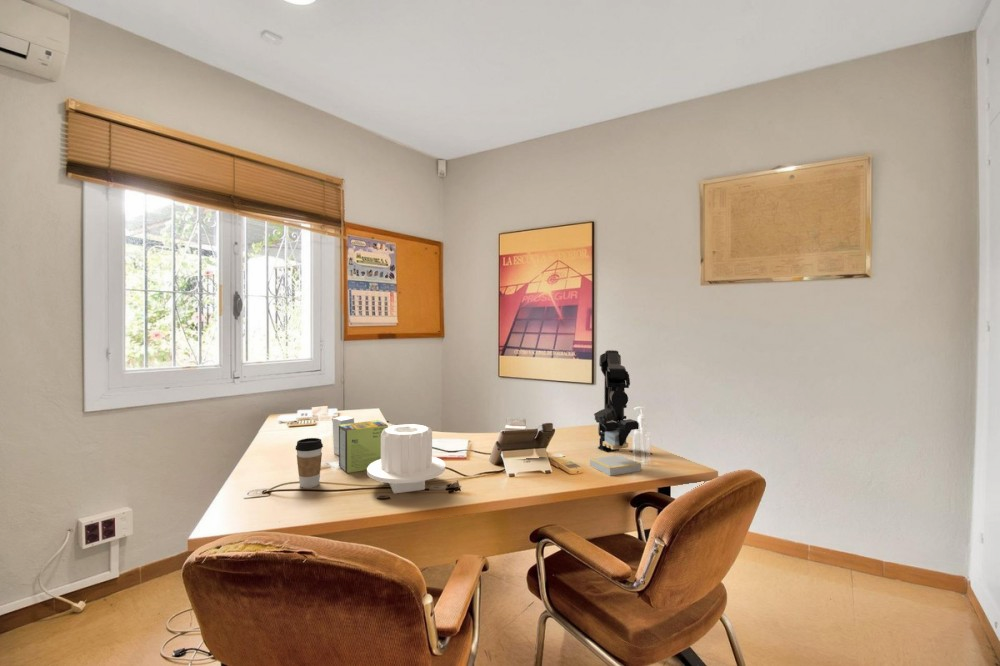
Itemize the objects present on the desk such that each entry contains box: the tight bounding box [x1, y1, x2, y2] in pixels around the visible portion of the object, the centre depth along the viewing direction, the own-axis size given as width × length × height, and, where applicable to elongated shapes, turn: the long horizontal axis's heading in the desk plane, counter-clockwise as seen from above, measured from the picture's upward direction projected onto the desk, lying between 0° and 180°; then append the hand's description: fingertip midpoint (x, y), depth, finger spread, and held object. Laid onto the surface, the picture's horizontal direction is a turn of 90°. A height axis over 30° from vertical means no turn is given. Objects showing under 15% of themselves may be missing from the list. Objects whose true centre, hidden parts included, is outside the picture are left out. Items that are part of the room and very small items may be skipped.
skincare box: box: [331, 415, 355, 456], centre depth 187 cm, size 8×6×15 cm
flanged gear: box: [366, 423, 446, 494], centre depth 152 cm, size 25×25×19 cm
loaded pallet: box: [603, 431, 629, 450], centre depth 172 cm, size 7×6×5 cm
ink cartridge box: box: [504, 417, 527, 432], centre depth 188 cm, size 9×5×15 cm, turn 84°
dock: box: [589, 454, 642, 477], centre depth 173 cm, size 14×12×3 cm
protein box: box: [338, 419, 389, 474], centre depth 173 cm, size 10×15×16 cm
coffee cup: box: [295, 437, 324, 489], centre depth 153 cm, size 8×8×15 cm
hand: (615, 443), depth 173 cm, fingers closed on loaded pallet, 6 cm apart
